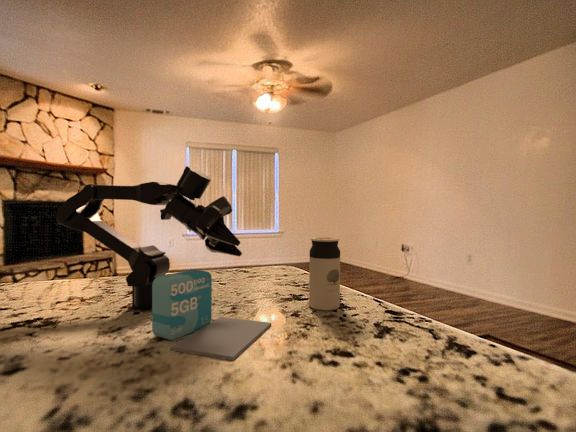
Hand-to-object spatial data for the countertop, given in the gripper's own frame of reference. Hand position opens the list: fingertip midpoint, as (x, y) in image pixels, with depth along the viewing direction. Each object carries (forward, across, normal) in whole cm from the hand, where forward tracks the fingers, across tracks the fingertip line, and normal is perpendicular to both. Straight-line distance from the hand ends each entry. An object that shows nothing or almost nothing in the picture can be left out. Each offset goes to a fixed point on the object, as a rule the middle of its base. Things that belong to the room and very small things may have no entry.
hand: (240, 249), depth 82 cm
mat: (+10, -7, +17) cm, 21 cm away
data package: (+2, -4, +22) cm, 22 cm away
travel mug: (+25, +11, -2) cm, 27 cm away
